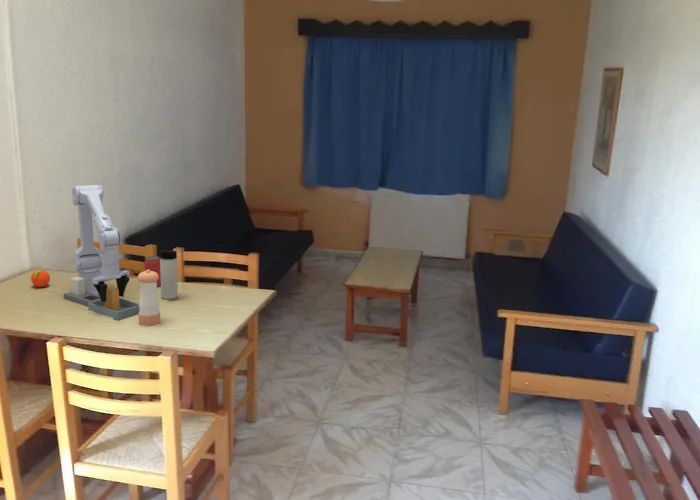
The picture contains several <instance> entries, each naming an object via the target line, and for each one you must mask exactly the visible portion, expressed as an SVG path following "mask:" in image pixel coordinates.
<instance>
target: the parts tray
mask: <svg viewBox="0 0 700 500" xmlns="http://www.w3.org/2000/svg"><path fill="white" fill-rule="evenodd" d="M87 307H88V311H92V312H94V313H98V314H100V315H103V316H107V317H109V318H112V319H113V320H115V321H120V320H121V321H122V320H124V319H126V318H130V317H132V316H133V317H134V316H136V315H139V312H140V310H139V303H138V302H135V301H131V300H128V299H124V298H122V297H119V308H120V309H119V310H116V311H114V310H111V309H108V308H105V303H104V302H103V301H101V300H98V301H94V302H91V303H88V306H87Z"/></svg>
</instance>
